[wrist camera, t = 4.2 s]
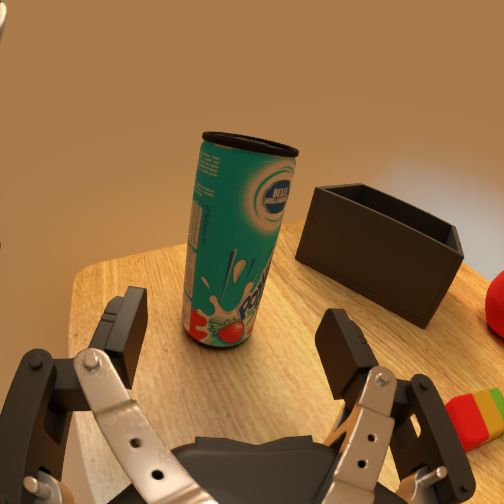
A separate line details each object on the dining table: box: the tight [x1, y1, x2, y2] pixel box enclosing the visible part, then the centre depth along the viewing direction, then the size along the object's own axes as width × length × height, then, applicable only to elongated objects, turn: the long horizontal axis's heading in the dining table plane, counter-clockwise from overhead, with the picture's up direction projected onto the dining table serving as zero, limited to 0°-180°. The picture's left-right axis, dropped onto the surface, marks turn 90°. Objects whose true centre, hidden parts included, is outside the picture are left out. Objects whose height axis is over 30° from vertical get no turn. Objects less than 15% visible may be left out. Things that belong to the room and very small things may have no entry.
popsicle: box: [445, 387, 504, 451], centre depth 14 cm, size 6×15×2 cm, turn 87°
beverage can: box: [182, 132, 299, 349], centre depth 19 cm, size 6×6×15 cm
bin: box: [295, 183, 464, 329], centre depth 37 cm, size 20×20×10 cm
